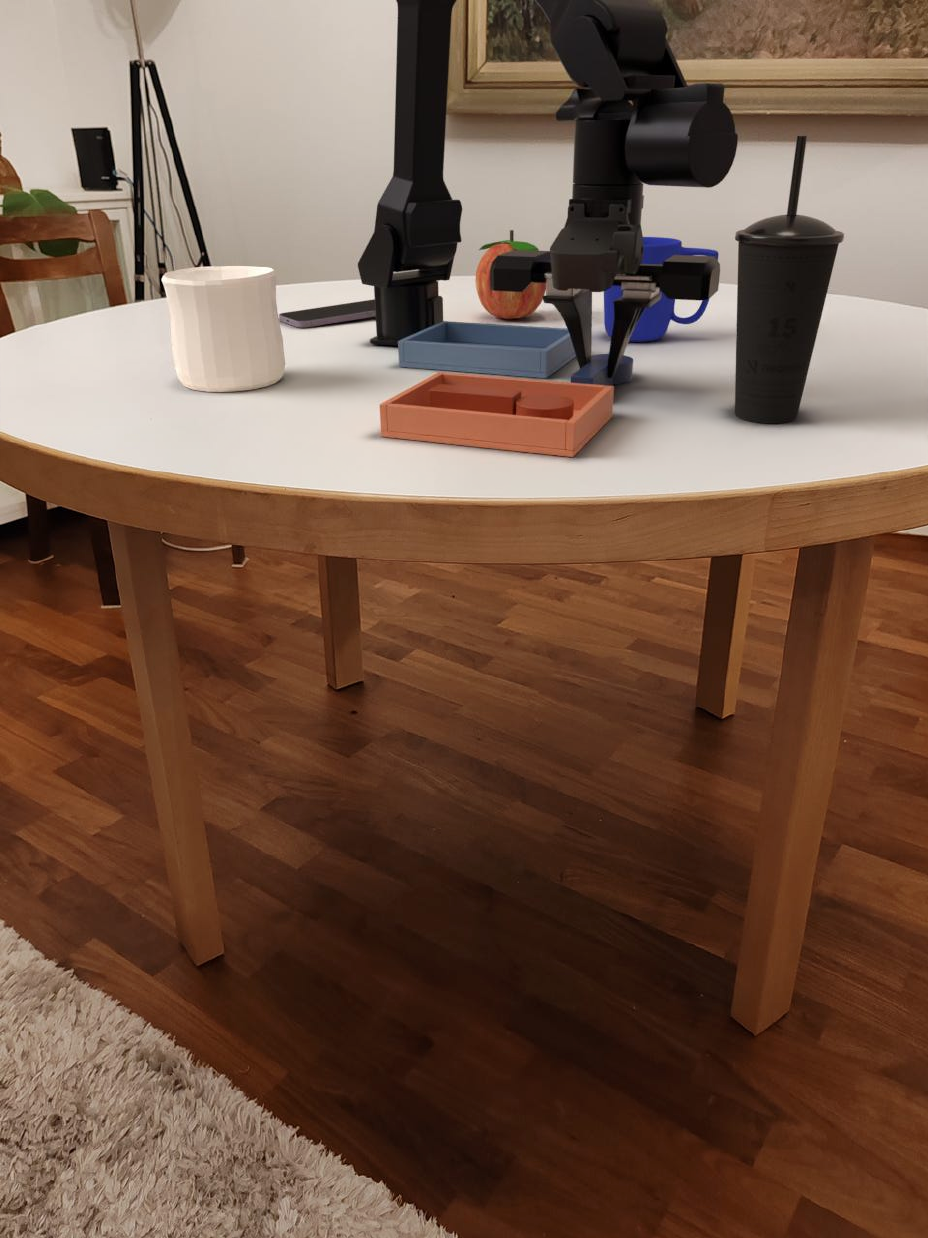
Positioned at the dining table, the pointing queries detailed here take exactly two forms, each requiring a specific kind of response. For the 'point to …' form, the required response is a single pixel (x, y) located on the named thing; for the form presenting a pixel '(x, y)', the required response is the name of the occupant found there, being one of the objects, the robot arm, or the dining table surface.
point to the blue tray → (488, 349)
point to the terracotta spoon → (501, 401)
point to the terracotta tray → (498, 416)
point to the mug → (662, 311)
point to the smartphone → (329, 314)
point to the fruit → (506, 301)
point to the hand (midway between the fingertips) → (598, 376)
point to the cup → (225, 327)
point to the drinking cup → (780, 305)
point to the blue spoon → (603, 371)
